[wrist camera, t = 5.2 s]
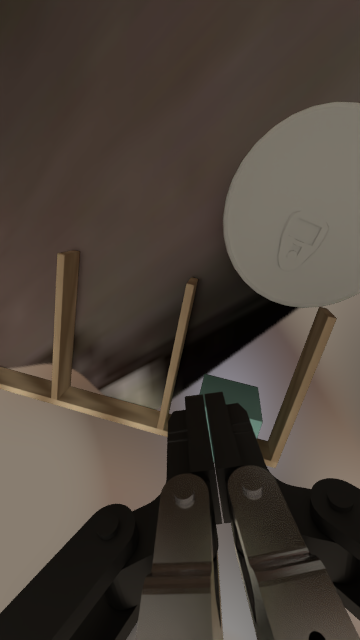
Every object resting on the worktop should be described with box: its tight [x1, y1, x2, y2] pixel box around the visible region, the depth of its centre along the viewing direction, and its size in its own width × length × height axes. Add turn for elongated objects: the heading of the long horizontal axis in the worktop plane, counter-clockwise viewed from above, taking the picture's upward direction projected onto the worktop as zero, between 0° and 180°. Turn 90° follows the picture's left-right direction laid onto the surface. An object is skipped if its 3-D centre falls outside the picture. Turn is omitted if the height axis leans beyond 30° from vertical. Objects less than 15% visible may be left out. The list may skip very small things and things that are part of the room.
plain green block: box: [199, 374, 262, 461], centre depth 26 cm, size 5×5×5 cm
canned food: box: [223, 102, 360, 308], centre depth 17 cm, size 8×8×11 cm
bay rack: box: [0, 250, 337, 468], centre depth 27 cm, size 32×15×2 cm, turn 79°
